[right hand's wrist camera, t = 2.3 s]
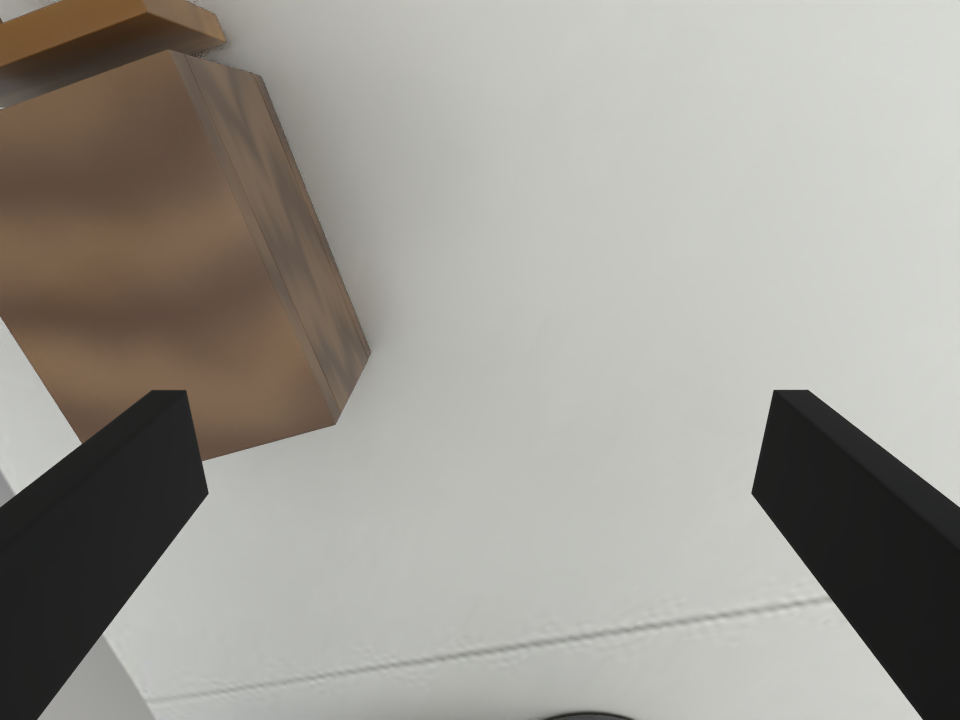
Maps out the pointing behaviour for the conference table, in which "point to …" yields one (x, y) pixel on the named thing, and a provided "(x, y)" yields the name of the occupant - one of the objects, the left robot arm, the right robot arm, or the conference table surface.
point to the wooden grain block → (172, 255)
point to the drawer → (95, 41)
